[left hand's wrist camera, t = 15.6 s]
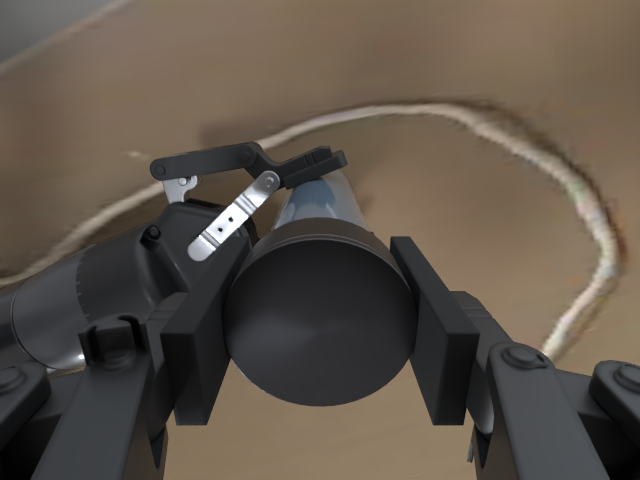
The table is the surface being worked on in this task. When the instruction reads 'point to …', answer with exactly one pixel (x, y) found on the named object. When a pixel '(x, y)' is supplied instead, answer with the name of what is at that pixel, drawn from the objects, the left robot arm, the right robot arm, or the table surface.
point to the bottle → (321, 201)
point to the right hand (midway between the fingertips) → (359, 200)
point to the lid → (319, 313)
